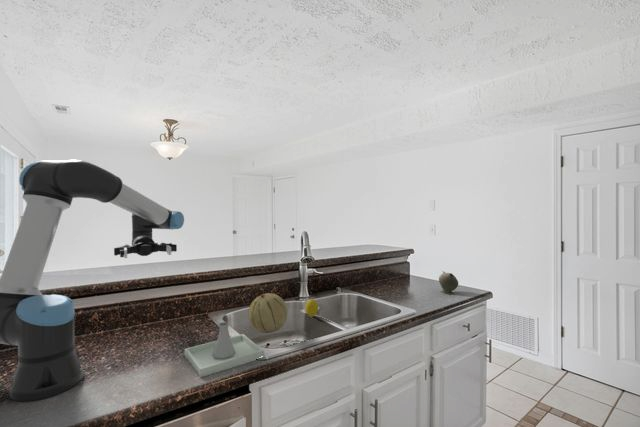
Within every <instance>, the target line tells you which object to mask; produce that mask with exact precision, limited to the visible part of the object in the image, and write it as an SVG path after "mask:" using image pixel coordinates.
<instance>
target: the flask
mask: <svg viewBox="0 0 640 427" xmlns="http://www.w3.org/2000/svg"><path fill="white" fill-rule="evenodd" d="M229 326H230V322H228V321H222V322H219V323H218V327H219V330H218V336H217V339H216V341H217V342H216V345H215V348H214V351H213V353H212V356H213V357H214V358H215V359H225V358H229V357H233V355H234V354H235V349H234V347H233V344H232V342H231V339H230V337H231V336H230V333H229Z"/></svg>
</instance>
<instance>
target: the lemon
mask: <svg viewBox="0 0 640 427" xmlns="http://www.w3.org/2000/svg"><path fill="white" fill-rule="evenodd" d="M304 306H305V308H304V311H305V312H306V314H307V316H309V317H310V318H313V317H314V316H315V315H317V314H318V311H319V305H318V302H317V301H316V300H315V299H313V298H310V299H308V300H307V301H306V303H305V305H304Z"/></svg>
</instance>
